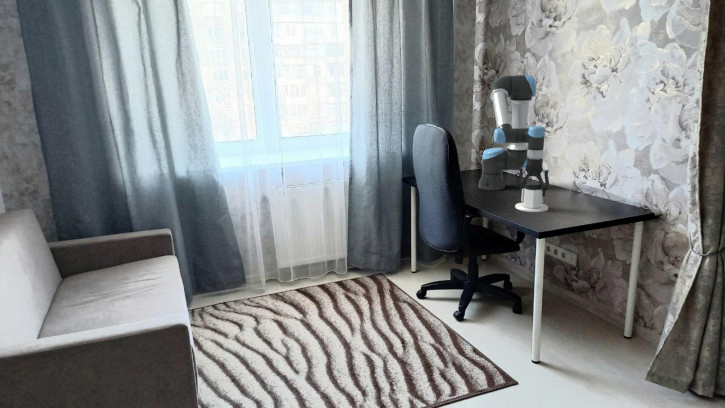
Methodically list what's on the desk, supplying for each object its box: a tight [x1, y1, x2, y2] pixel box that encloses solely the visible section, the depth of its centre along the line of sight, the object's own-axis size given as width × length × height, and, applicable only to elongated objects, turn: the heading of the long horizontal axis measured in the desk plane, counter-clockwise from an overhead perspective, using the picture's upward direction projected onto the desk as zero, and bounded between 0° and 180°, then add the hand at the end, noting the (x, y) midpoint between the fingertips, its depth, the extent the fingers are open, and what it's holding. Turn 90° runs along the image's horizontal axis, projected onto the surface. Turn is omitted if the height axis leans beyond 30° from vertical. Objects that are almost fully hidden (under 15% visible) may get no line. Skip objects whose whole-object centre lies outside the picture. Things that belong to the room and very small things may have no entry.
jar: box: [522, 181, 542, 209], centre depth 249 cm, size 9×8×12 cm
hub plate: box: [514, 202, 549, 213], centre depth 250 cm, size 16×16×1 cm
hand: (531, 201), depth 250 cm, fingers closed on jar, 9 cm apart
